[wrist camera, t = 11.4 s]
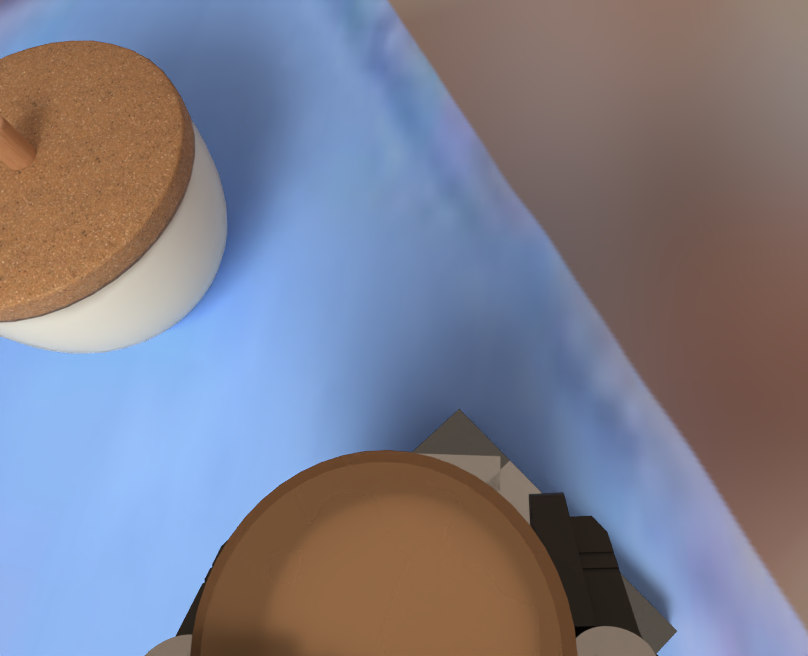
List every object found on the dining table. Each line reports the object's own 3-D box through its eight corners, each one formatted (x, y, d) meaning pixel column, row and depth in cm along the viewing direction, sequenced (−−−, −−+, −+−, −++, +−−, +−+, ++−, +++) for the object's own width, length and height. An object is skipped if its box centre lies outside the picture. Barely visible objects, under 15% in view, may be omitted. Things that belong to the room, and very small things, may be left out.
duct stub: (259, 600, 25) (171, 599, 18) (460, 415, 27) (447, 352, 20) (447, 870, 21) (421, 998, 14) (670, 629, 23) (742, 641, 16)
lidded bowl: (50, 189, 36) (-126, 27, 26) (267, 156, 34) (171, -28, 24) (9, 405, 30) (-233, 307, 20) (262, 375, 29) (137, 256, 19)
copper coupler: (298, 617, 17) (117, 629, 9) (440, 479, 18) (389, 379, 10) (433, 798, 15) (354, 1022, 7) (585, 632, 16) (669, 663, 8)
